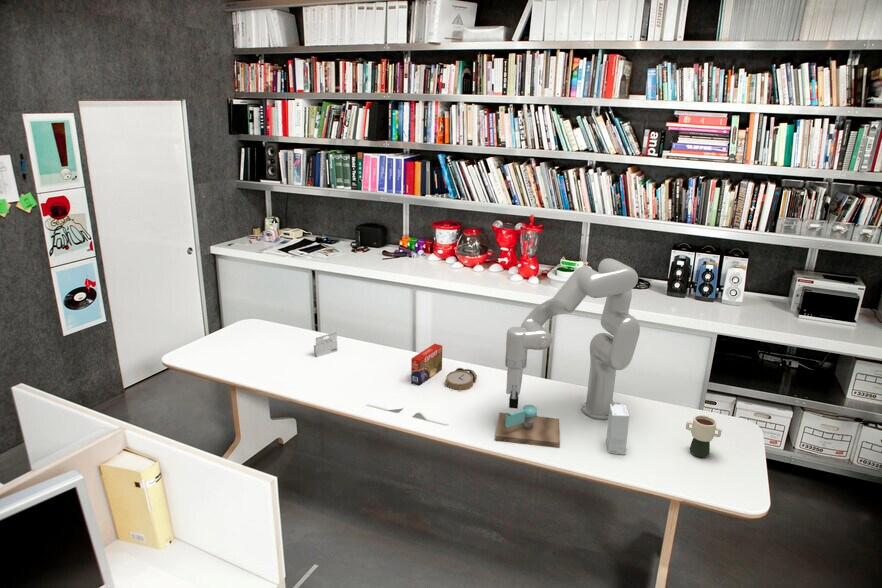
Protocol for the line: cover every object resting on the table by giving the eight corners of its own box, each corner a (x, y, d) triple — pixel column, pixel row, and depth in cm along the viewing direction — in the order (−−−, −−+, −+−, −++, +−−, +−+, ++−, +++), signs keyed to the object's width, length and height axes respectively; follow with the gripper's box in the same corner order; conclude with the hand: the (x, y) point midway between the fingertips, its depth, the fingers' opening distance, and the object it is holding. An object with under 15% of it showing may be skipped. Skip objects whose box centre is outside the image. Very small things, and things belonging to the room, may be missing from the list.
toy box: (419, 386, 244) (419, 360, 240) (411, 383, 246) (411, 358, 242) (442, 369, 259) (442, 345, 255) (434, 367, 261) (434, 343, 257)
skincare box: (625, 455, 200) (631, 416, 195) (607, 453, 201) (612, 415, 196) (622, 441, 208) (627, 404, 203) (604, 439, 209) (609, 402, 204)
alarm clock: (440, 380, 243) (459, 361, 254) (441, 389, 246) (459, 370, 257) (464, 387, 238) (482, 368, 249) (465, 397, 240) (482, 377, 251)
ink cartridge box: (313, 355, 270) (312, 336, 267) (335, 349, 277) (334, 330, 273) (316, 357, 268) (315, 337, 265) (337, 351, 275) (337, 332, 272)
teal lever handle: (530, 414, 214) (531, 402, 213) (538, 421, 210) (539, 409, 209) (502, 423, 208) (502, 411, 207) (510, 430, 204) (511, 418, 203)
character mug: (716, 452, 203) (723, 419, 198) (715, 463, 197) (722, 429, 192) (682, 444, 207) (688, 411, 203) (680, 454, 201) (686, 421, 197)
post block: (558, 423, 219) (560, 406, 216) (559, 447, 204) (561, 430, 201) (499, 417, 222) (500, 400, 220) (495, 440, 207) (496, 423, 205)
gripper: (506, 351, 217) (504, 396, 223) (503, 370, 203) (501, 416, 209) (527, 353, 215) (524, 398, 222) (526, 371, 202) (523, 418, 208)
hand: (513, 407), depth 215 cm, fingers closed
